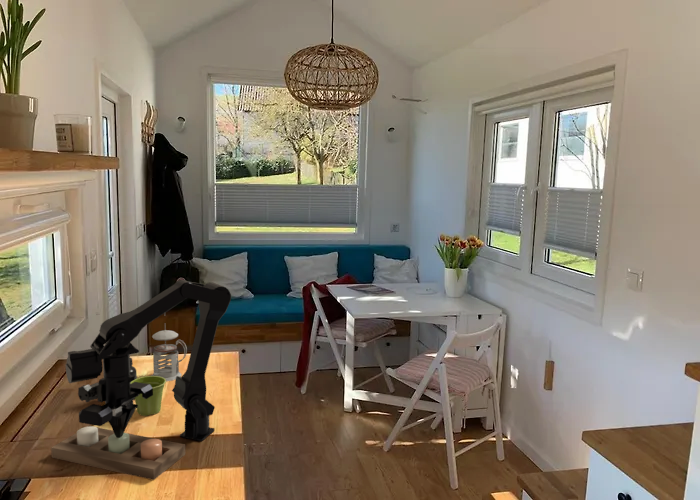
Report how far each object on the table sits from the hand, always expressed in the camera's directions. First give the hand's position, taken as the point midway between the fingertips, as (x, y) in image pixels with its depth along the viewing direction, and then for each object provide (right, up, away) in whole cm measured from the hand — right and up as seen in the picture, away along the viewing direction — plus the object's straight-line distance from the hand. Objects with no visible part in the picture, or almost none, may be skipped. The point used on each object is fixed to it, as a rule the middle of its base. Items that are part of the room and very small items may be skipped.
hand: (119, 436), depth 133 cm
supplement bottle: (-12, 0, +33) cm, 35 cm away
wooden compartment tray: (0, -5, +1) cm, 5 cm away
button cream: (-9, -4, +3) cm, 10 cm away
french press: (-5, +2, +52) cm, 52 cm away
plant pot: (-2, -1, +25) cm, 25 cm away
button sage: (0, -4, +1) cm, 4 cm away
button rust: (+8, -5, -2) cm, 10 cm away
